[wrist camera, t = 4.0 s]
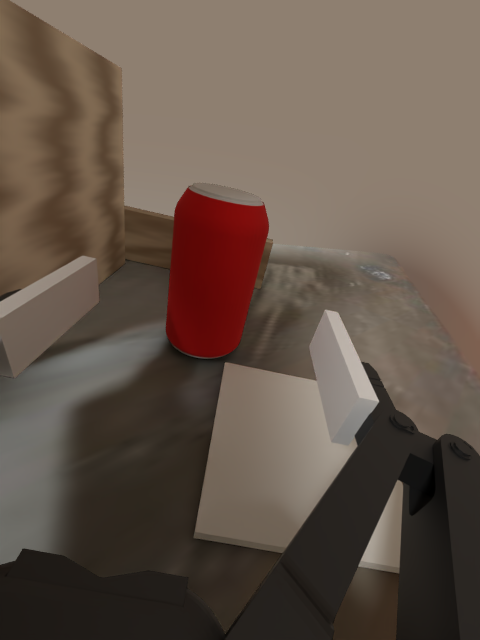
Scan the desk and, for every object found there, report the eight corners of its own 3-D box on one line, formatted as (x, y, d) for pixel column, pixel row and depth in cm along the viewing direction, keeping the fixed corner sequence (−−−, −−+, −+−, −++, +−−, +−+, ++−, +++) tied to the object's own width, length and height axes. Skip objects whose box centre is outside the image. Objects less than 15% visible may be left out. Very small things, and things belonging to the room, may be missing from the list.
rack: (258, 435, 17) (417, 29, 7) (-48, 376, 16) (-310, -171, 6) (260, 284, 36) (305, 119, 27) (122, 253, 35) (118, 71, 26)
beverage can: (188, 314, 27) (205, 178, 20) (247, 337, 25) (285, 200, 19) (149, 347, 21) (155, 179, 15) (220, 378, 20) (259, 209, 14)
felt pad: (193, 537, 12) (194, 531, 12) (223, 367, 21) (225, 362, 21) (432, 579, 12) (440, 574, 12) (359, 395, 22) (362, 390, 21)
